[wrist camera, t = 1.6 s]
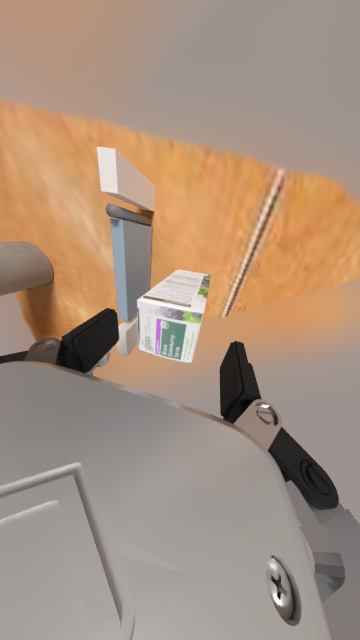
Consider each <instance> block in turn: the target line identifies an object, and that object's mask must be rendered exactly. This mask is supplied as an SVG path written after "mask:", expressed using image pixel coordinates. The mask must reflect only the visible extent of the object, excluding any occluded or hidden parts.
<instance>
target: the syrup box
mask: <svg viewBox="0 0 360 640" xmlns="http://www.w3.org/2000/svg"><path fill="white" fill-rule="evenodd" d="M210 276H211V275H210V274H204V273H197V272H191V271H185V270H179V269H177V270H176V271H175V272H173V273H172V274H171V275H169V276H168V277H167V278H165V279H164V280H163V281H161V282H160V283H159V284H157V285H156V286H155V287H153V288H152V289H151V290H149V291H148V292H147V293H145V294H144V295H143V296H141V297H140V298H139V299H138V300H137V308H138V320H137V332H138V349H139V350H141V351H144V352H147V353H150V354H153V355H156V356H159V357H163V358H167V359H171V360H175V361H181V362H187V363H191V362H192V360H193V355H194V351H195V347H196V343H197V340H198V336H199V331H200V328H201V323H202V319H203V315H204V311H205V305H206V300H207V294H208V288H209V282H210Z"/></svg>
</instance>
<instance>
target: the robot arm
mask: <svg viewBox="0 0 360 640" xmlns="http://www.w3.org/2000/svg"><path fill="white" fill-rule="evenodd" d="M62 339H63V340H61V341H60V340H59V339H56V338H47V339H43V340H40V341H38V342H36V343H34V344H33V345H32V346H31V347H30V349H29V350H28V351H24V352H18V353H14V354H9V355H5V356H0V640H360V525H359V523H358V522H357V521H356V519H355V518H354V516H353V515H352V514H351V512H350V511H349V510H348V509H344V508H343V507H342V505H341V504H340V502H339V498H338V494H337V490H336V488H335V486H334V484H333V482H332V480H331V479H330V477H329V476H328V475H327V474H326V472H325V471H324V470H323V469H322V468H321V467H320V466H319V465H318V463H317V462H315V460H314V459H313V458H312V457H311V456H310V455H309V454H308V453H307V452H306V451H305V450H304V449H303V448H302V447H301V446H300V445H299V444H298V443H297V442H296V441H295V440H294V439H293V438H292V437H291V436H290V435H289V434H288V433H287V432H286V431H285V430H284V429H283V428H282V427H281V425H282V420H281V417H280V415H279V413H278V411H277V410H276V409H275V408H274V407H273V406H272V405H271V404H270V403H268V402H266V401H264V400H261V396H260V393H259V389H258V385H257V382H256V378H255V374H254V371H253V367H252V365H251V364H250V363H248V360H247V356H246V352H245V348H244V344H243V343H241V342H237V341H235V342H234V343H233V342H232V343H231V344H230V346H229V349H228V351H227V353H226V355H225V357H224V360H223V362H222V364H221V366H220V407H221V416H223V419H221V418H218V417H216V416H213V415H211V414H207V413H205V412H202V411H199V410H196V409H193V408H190V407H188V406H184V405H181V404H178V403H175V402H172V401H169V400H166V399H163V398H160V397H157V396H154V395H151V394H147V393H144V392H142V391H138V390H135V389H132V388H129V387H126V386H123V385H120V384H116V383H114V382H110V381H107V380H104V379H101V378H97V377H95V376H93V374H92V371H93V370H94V369H95V368H96V367H101V366H103V365H105V364H106V363H107V361H108V360H109V350H110V349H111V348H112V347H113V346H114V345H115V344H116V343H117V342H118V341H119V328H118V319H117V313H116V312H115V310H113V309H109V308H106V309H105V310H103V311H101V312H100V313H98V314H97V315H95V316H94V317H92V318H90V319H89V320H87V321H86V322H84V323H83V324H81V325H80V326H78V327H76V328H73V329H71V330H69V331H67V332H66V333H65V335H64V336H62ZM298 520H299V521H300V523H301V525H302V526H301V527H300V525H299V521H298ZM301 530H302V531H301ZM302 532H303V534H304V535H305V537H306V539H307V541H308V543H309V546H310V548H311V550H312V553H313V558H314V561H315V574H314V573H313V570H312V566H311V563H310V559H309V556H308V552H307V549H306V545H305V542H304V538H303V535H302Z"/></svg>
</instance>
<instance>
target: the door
mask: <svg viewBox="0 0 360 640" xmlns="http://www.w3.org/2000/svg"><path fill="white" fill-rule="evenodd" d="M106 211H107V214H108V215H109V216H110V217H113V218H118V219H122V220H117V219H111V218H110V222H111V233H112V245H113V257H114V268H115V280H116V292H117V304H118V315H119V319H122V320H126V321H128V320H129V319H130V318H131V317H132V316H133V315H135V314H136V313H137V312H138V308H137V300H138V299H139V298H140V297H141V296H143V295H144V294H145V293H147V292H148V291H149V290H150V272H151V248H152V227H150V226H145V225H150V223H151V220H150V218H149V217H146V216H143V215H141V214H138V213H135V212H132V211H129V210H127V209H124V208H121V207H118V206H115V205H113V204H108V205H107V207H106ZM123 220H126V221H123ZM127 221H131V222H127ZM132 222H135V223H132ZM136 223H140V224H136ZM141 224H144V225H141Z"/></svg>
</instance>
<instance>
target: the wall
mask: <svg viewBox="0 0 360 640" xmlns="http://www.w3.org/2000/svg"><path fill="white" fill-rule="evenodd" d="M97 154H98V163H99V173H100V183H101V191H102V192H105V193H107V194H109V195H111V196H114V197H116V198H118V199H120V200H123V201H125V202H127V203H129V204H132V205H134V206H136V207H139V208H141V209H143V210H148V211H154V207H155V186H154V185H153V184H152V183H151V182H150V181H149V180H148V179H147V178H146V177H145V176H144V175H143V174H142V173H141V172H139V171H138V170H137V169H136V168H135V167H134V166H133V165H132V164H131V163H130V162H129V161H128V160H127V159H126V158H124V157H123V156H122V155H121V154H120V153H119V152H118V151H117V150H116V149H112V148H104V147H97ZM137 320H138V312H137V313H136V314H135V315H133V316H132V317H131V318H130V319H129V320H128V321H126V320H125V321H124V322H123V323H122V324H121V325H120V326H119V327H118V328H119V341H118V342H117V346H118V354H121V355H124V356H128V355H129V353H130V352H131V351H132V349H133V348H134V347H135V345H136V344H137V343H138V332H137Z"/></svg>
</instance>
